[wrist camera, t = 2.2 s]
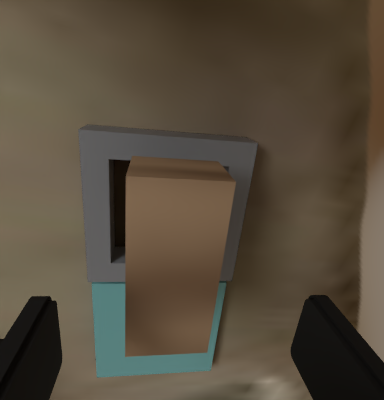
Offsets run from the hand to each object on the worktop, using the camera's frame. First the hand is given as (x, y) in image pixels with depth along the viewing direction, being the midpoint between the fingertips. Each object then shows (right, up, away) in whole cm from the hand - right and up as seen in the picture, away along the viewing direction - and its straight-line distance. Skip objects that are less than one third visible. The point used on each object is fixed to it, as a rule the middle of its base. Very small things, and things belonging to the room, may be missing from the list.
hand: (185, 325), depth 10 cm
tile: (-3, -6, +13) cm, 14 cm away
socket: (-2, +4, +9) cm, 10 cm away
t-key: (-2, +4, +9) cm, 10 cm away
